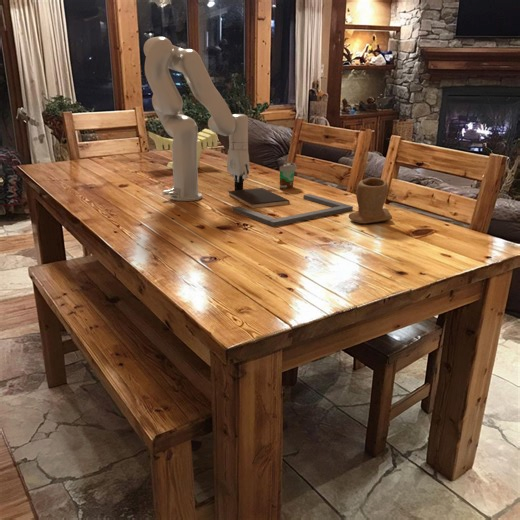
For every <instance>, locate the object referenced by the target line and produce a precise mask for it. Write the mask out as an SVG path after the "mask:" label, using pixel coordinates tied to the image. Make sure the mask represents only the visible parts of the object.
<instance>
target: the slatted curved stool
mask: <svg viewBox="0 0 520 520" xmlns="http://www.w3.org/2000/svg"><path fill="white" fill-rule="evenodd" d="M148 138H150V139H151V140H152V141H153V143H154V144H155V149H156V151H158V152H160V151H164V150H170V151H172V144H173V138H169V137H168V138H167V137H163V136H161V135H158V134H156V133H155V132H151V131H148ZM212 147H214V148H218V134H217V133H214V132H212V131H211V130H210V129H209V128H204V129H202V130H201V131H198V140H197V169H201V165H200V161H201V155H202V151H203V150H205V149H206V148H212ZM166 167H168V168H169V169H172V170H173V161H168V163H167V165H166Z"/></svg>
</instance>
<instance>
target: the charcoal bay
mask: <svg viewBox="0 0 520 520" xmlns="http://www.w3.org/2000/svg"><path fill="white" fill-rule="evenodd" d="M303 200H306V201H311V202H312V203H313V202H314V203H317V204H320V205H323V206H327V207H328V208H324V209H319V210H318V209H317V210H314V211H309V212H303V213H298V214H294V215H293V214H292V215H288V216H284V217H279V218H273V217H271V216H268V215H266V214H263V213H260V212H257V211H254V210H252V209H249V208H246V207H243V206H240V205H238V206H233V207H232V212H233V213H236V214H240V215H242V216H245V217H247V218H250V219H252V220H255V221H258V222H260V223H263V224H266V225H268V226H271V227H278V226H284V225H288V224H293V223H294V224H295V223H298V222H303V221H308V220H313V219H317V218H322V217H326V216H332V215H337V214H342V213H348V212H350V211H351V210H352V211H353V210H354V209H353V208H354V206H353V205H349V204H346V203H344V202H343V203H342V202H339V201H335V200H332V199H328V198H326V197H322V196H317V195H314V194H311V193H307V194H303Z"/></svg>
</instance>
